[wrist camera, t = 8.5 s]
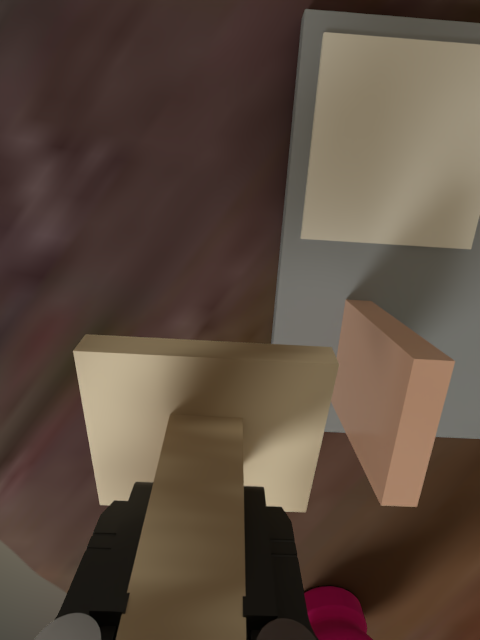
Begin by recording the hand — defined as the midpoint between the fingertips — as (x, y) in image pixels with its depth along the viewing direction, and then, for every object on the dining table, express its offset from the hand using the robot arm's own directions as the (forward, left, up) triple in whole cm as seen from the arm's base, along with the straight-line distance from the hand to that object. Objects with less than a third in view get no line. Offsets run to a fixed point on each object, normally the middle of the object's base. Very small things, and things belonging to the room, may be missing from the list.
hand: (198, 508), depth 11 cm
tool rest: (-10, -12, -13) cm, 20 cm away
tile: (-9, 0, -13) cm, 16 cm away
